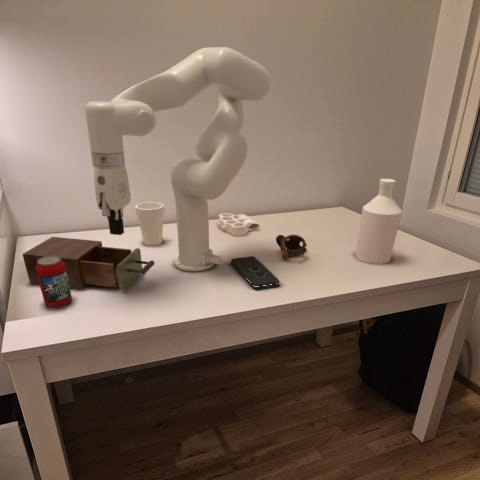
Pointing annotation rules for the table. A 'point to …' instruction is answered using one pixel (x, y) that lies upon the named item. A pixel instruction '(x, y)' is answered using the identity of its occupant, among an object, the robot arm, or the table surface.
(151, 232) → the foam cup
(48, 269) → the beverage can
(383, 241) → the bottle
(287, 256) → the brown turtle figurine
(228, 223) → the white multi well tray
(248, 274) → the black flat slab
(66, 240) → the cabinet
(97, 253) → the drawer
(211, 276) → the table surface
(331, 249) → the table surface
